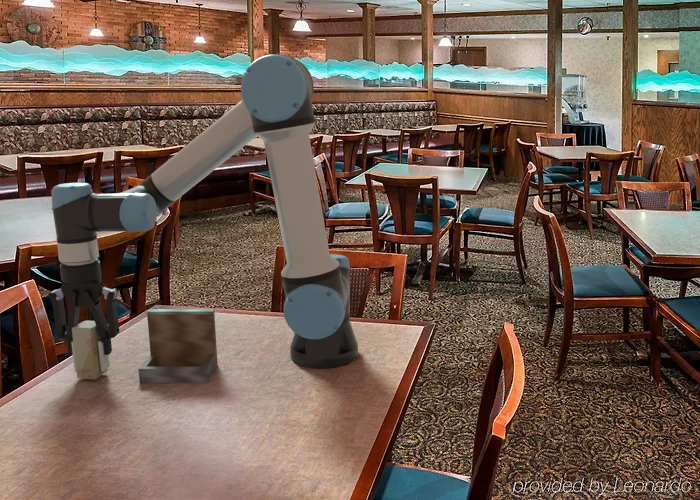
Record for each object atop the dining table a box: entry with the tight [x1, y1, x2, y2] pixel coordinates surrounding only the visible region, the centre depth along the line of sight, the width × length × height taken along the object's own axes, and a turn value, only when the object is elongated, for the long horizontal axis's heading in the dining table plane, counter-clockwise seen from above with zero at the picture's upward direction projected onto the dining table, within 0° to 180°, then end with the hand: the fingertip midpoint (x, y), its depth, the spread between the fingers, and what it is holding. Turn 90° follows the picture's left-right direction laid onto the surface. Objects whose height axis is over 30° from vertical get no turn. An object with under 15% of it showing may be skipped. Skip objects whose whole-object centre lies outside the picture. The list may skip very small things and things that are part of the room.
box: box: [72, 319, 109, 380], centre depth 141 cm, size 5×4×11 cm
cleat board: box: [137, 308, 218, 384], centre depth 142 cm, size 14×10×13 cm
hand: (92, 368), depth 142 cm, fingers closed on box, 5 cm apart
